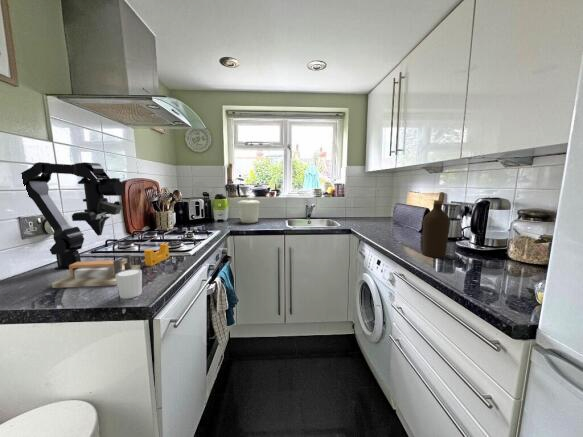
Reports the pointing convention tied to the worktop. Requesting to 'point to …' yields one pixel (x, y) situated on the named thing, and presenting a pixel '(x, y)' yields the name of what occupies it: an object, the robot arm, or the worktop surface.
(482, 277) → the worktop surface
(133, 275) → the white cylinder
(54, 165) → the robot arm
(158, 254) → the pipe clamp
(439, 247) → the olive oil
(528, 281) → the worktop surface
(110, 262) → the tan wooden bar
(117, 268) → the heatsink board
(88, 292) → the worktop surface
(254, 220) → the canister
